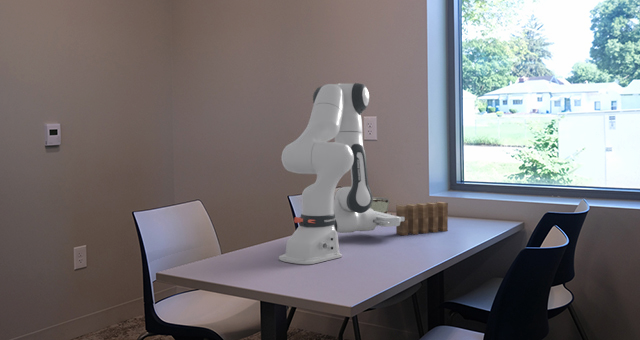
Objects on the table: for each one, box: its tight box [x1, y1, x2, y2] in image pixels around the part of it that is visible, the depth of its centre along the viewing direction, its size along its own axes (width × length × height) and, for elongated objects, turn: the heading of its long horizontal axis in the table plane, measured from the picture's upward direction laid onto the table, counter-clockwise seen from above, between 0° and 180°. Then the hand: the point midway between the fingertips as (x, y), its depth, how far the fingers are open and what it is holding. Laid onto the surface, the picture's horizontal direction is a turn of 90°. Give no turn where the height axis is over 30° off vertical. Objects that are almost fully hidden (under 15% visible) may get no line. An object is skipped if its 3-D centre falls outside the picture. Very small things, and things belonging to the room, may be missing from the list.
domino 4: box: [425, 202, 439, 233], centre depth 225 cm, size 2×5×12 cm, turn 24°
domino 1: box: [395, 204, 409, 237], centre depth 219 cm, size 2×5×12 cm, turn 24°
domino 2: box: [405, 203, 419, 236], centre depth 221 cm, size 2×5×12 cm, turn 24°
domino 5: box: [435, 201, 449, 232], centre depth 227 cm, size 2×5×12 cm, turn 24°
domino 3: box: [415, 202, 429, 234], centre depth 223 cm, size 2×5×12 cm, turn 24°
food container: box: [370, 197, 390, 214], centre depth 262 cm, size 12×6×10 cm, turn 84°
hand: (397, 217), depth 218 cm, fingers open, 8 cm apart
